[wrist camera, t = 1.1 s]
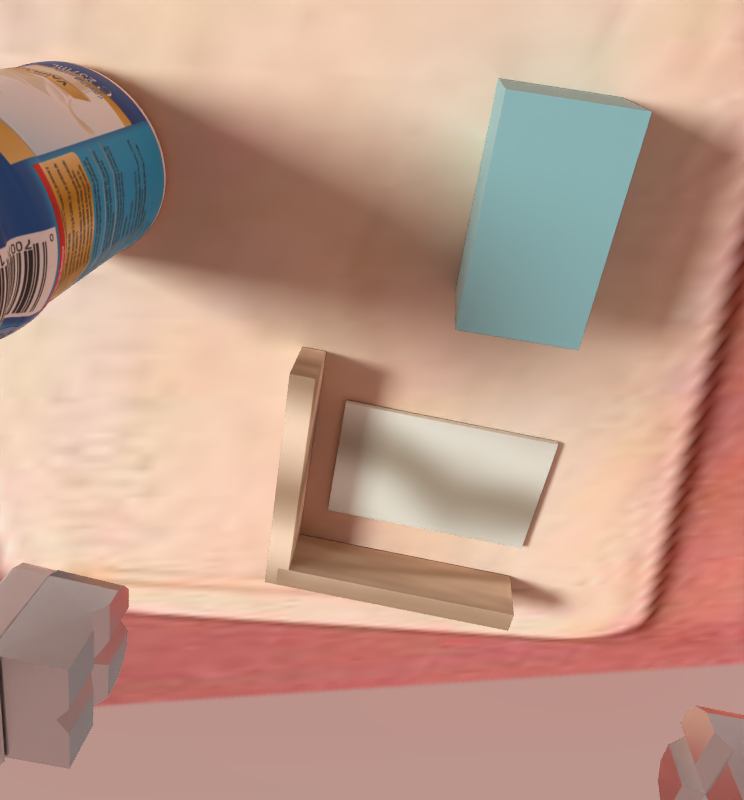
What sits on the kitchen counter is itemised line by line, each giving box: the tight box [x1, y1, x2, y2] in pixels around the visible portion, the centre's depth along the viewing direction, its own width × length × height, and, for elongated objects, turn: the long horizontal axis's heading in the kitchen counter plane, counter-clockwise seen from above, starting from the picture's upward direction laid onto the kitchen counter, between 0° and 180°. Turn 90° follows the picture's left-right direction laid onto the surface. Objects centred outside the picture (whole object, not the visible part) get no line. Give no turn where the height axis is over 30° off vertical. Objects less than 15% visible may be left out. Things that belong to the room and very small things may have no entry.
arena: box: [265, 347, 558, 630], centre depth 36 cm, size 13×14×3 cm
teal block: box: [455, 78, 652, 350], centre depth 28 cm, size 9×5×5 cm, turn 172°
